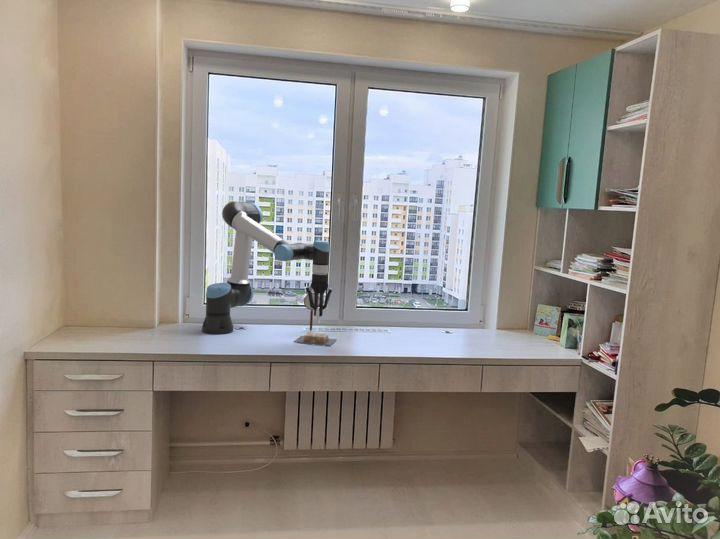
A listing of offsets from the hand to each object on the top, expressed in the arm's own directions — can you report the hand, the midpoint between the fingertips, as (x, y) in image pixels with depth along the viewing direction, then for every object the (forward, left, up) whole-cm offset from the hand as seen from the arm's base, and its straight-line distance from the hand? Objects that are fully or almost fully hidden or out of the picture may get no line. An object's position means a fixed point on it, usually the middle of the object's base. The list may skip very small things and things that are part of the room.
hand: (317, 322), depth 247 cm
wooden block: (-5, 0, -7) cm, 9 cm away
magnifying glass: (-9, +20, -10) cm, 24 cm away
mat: (-1, +1, -9) cm, 10 cm away
